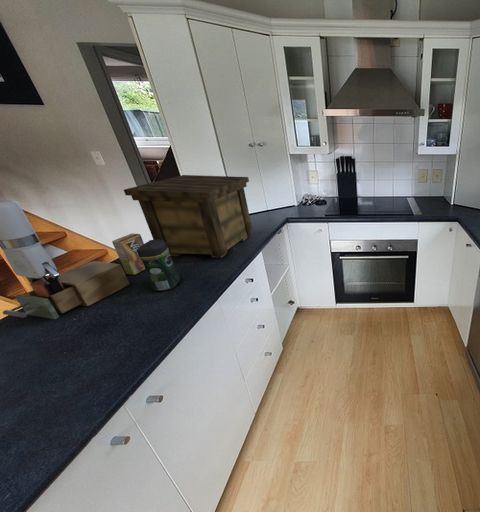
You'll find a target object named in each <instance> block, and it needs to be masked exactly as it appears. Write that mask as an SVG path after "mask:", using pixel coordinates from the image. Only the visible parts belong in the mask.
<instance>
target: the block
mask: <svg viewBox="0 0 480 512" xmlns="http://www.w3.org/2000/svg"><path fill="white" fill-rule="evenodd" d="M49 277H50V276H47V277H46V279H47V280H48V278H49ZM58 279H59V278H58ZM59 283H60V284H61V286H62V288H63V290H65V289H64V287H63V285H62V283H61V282H60V280H59ZM29 285H30V287H31V288H32V289H33V290H34V291H35V293H36V294H37V295H38V296H45V297H49V296H51V295H50V294H49V292H48V290H47V289H46V287H45V286H44V285H46V284H45V283H44V282H43V280H42V279H40V280H38V281H35V282H32V283H30V282H29Z"/></svg>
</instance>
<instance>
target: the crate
mask: <svg viewBox="0 0 480 512" xmlns="http://www.w3.org/2000/svg"><path fill="white" fill-rule="evenodd" d="M249 182H250V179H249V176H225V175H196V174H195V175H194V174H181V175H176V176H174V177H169V178H166V179H162V180H157V181H153V182H149V183H144V184H141V185H137V186H133V187H129V188H125V189H123V193H124V194H125V196H130V197H131V199H132V201H137V202H138V203H139V206H140V209H141V211H142V214H143V217H144V219H145V222H146V224H147V227H148V229H149V232H150V235H151V237H152V240H160V239H161V240H163V241H165V242H166V244H167V246H168V249H169V253H170V256H171V257H180V256H182V255H184V254H188V255H189V254H191V255H210V256H211V259H222V258H223V257H225V256H226V255H227V253H228V250H229V249H231V248H232V247H233V246H235V245H236V244H238V243H239V242H244V241H246V240H247V239H248V236H251V235H252V234H253V233H254V231H253V226H252V222H251V215H250V211H249V207H248V203H247V196H246V192H245V188H247V187H248V184H247V183H249Z"/></svg>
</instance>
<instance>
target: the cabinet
mask: <svg viewBox="0 0 480 512" xmlns="http://www.w3.org/2000/svg"><path fill="white" fill-rule="evenodd" d="M59 275H60V276H59V277H58V278H59V280H60V282H61V283H62V284H65V285H72V286H75V287H76V289H77V291H78V293H79V294H80V296H81V298H82V300H83V301H84V303H82V304H80V305H79V306H84V307H89V306H92V305H93V304H95V303H96V302H99V301H101V300H103V299H105V298H107V297H108V296H111V295H112V294H114V293H116V292H118V291H120V290H122V289H124V288H127V287H128V286H130V285H131V284H130V282H129V280H128V277H127V276H126V275H127V274H126V272H125V270H124V268H123V266H122V263H121V264H120V263H113V262H106V261H99V260H93V261H90V262H87V263H85V264H82V265H79V266H78V267H75V268H73V269H70V270H67V271H64V272H62V273H59Z"/></svg>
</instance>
